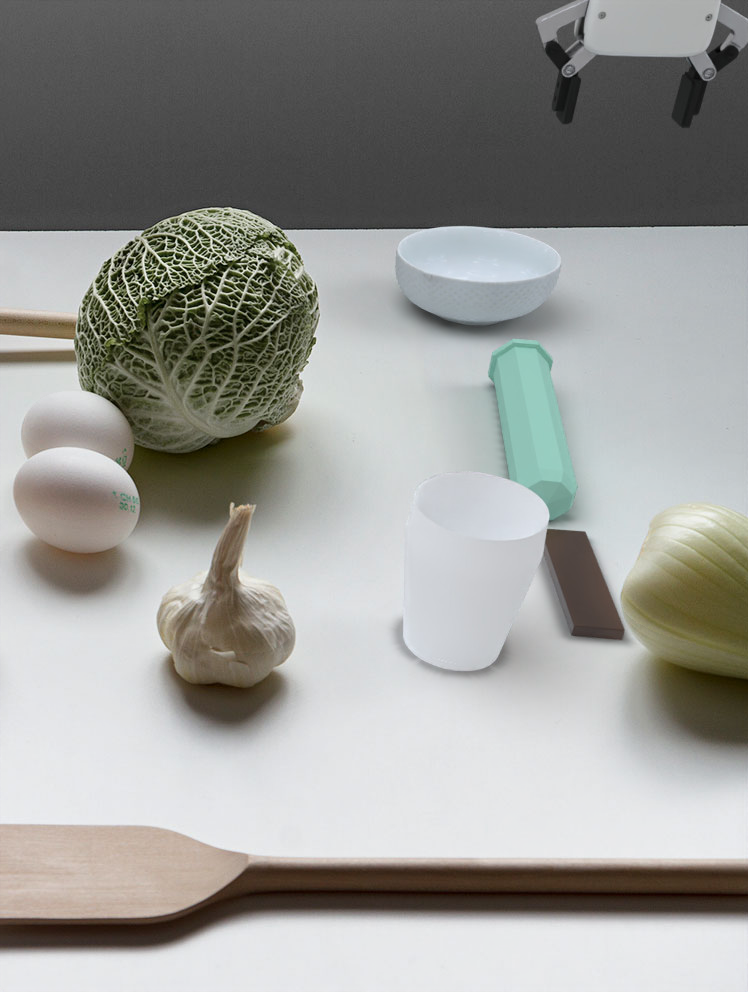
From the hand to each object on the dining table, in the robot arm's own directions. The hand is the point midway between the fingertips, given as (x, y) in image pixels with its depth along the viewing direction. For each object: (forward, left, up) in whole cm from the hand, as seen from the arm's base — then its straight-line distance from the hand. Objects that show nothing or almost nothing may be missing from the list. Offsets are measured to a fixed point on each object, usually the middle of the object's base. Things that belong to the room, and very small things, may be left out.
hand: (621, 121), depth 112 cm
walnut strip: (+5, +34, -26) cm, 43 cm away
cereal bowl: (+6, -18, -26) cm, 33 cm away
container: (+5, +13, -27) cm, 30 cm away
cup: (+15, +42, -26) cm, 52 cm away
